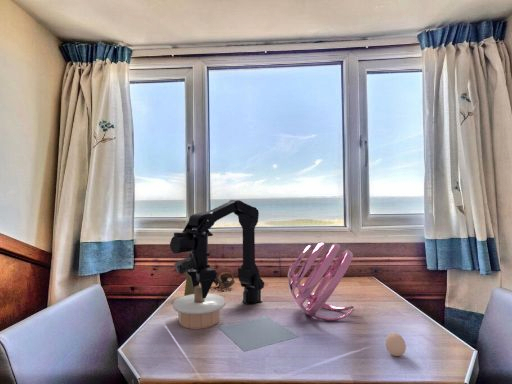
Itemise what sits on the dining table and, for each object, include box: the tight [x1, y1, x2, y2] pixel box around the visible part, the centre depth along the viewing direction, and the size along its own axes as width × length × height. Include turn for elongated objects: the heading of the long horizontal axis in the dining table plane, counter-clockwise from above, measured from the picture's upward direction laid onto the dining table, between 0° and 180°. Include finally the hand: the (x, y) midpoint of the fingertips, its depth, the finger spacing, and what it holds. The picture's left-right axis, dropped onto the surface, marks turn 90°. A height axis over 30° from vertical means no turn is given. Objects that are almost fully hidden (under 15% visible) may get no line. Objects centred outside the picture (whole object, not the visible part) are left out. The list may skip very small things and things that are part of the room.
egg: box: [385, 332, 407, 357], centre depth 85 cm, size 5×5×6 cm
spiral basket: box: [287, 241, 355, 322], centre depth 115 cm, size 28×28×27 cm
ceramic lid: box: [172, 284, 226, 314], centre depth 109 cm, size 18×18×6 cm
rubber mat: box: [217, 316, 300, 353], centre depth 99 cm, size 19×19×1 cm
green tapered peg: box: [183, 272, 194, 296], centre depth 137 cm, size 6×6×11 cm
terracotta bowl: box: [177, 309, 221, 330], centre depth 109 cm, size 14×14×6 cm
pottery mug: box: [213, 272, 236, 291], centre depth 151 cm, size 12×10×8 cm
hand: (199, 294), depth 109 cm, fingers open, 9 cm apart
